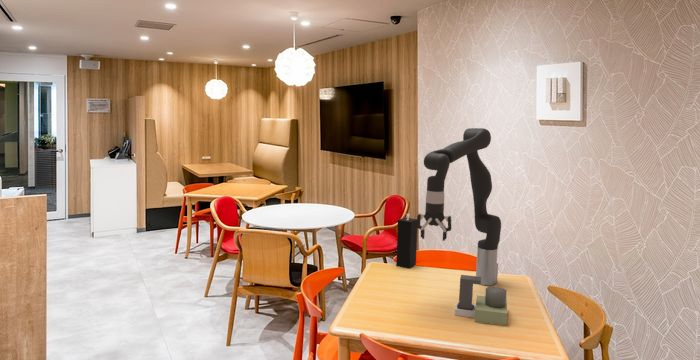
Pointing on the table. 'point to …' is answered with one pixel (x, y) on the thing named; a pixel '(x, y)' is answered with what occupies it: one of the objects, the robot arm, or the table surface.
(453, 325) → the table surface
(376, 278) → the table surface
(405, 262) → the black upright block
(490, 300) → the green block with cylinder
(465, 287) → the dark grey angled block
